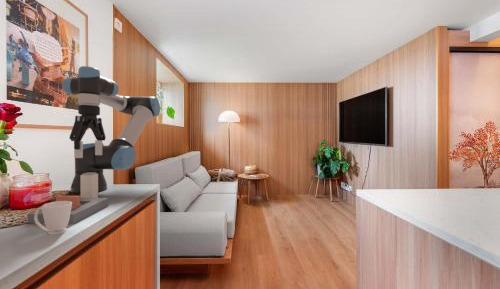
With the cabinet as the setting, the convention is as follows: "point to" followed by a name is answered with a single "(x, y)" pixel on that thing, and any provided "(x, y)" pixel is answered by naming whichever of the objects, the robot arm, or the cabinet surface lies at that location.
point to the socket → (76, 210)
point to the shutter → (74, 200)
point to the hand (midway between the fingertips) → (89, 156)
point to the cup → (55, 216)
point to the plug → (89, 185)
